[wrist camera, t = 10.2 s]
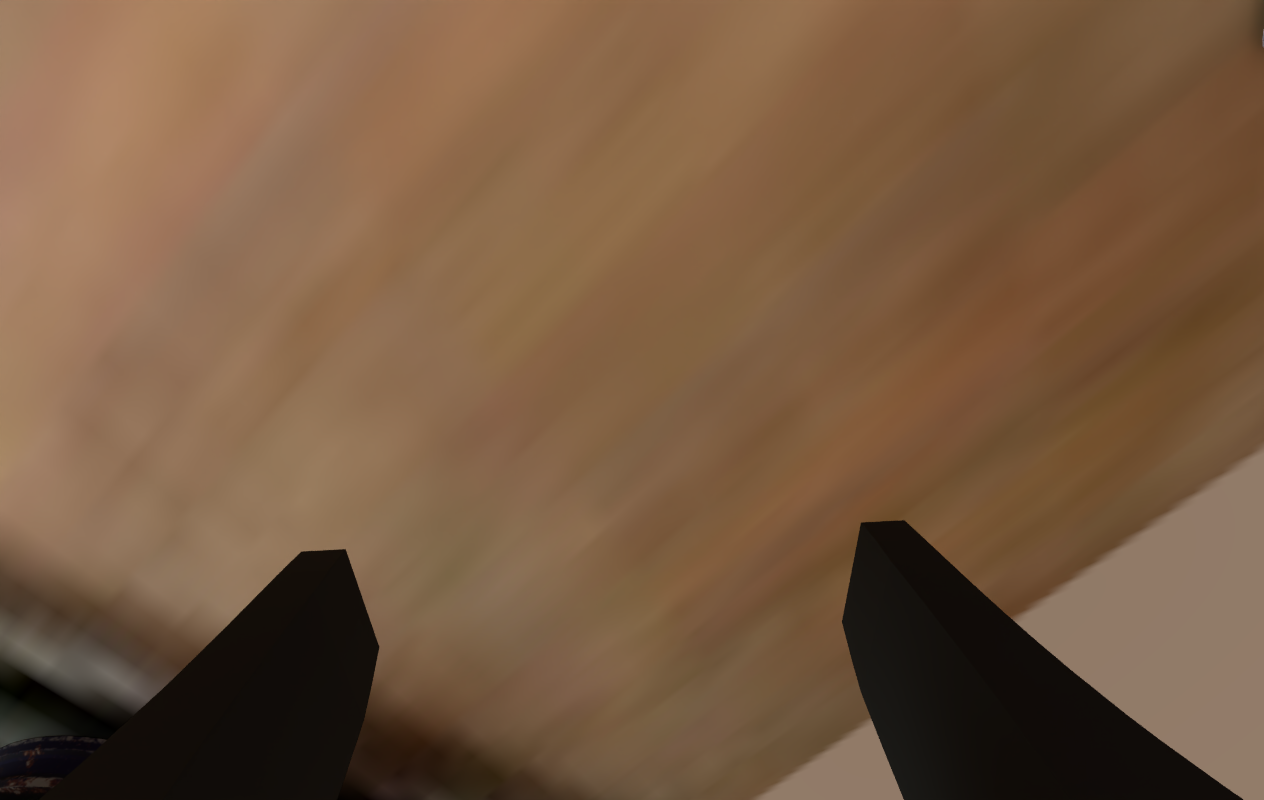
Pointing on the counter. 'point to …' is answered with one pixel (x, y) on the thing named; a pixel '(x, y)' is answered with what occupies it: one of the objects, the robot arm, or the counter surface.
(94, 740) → the storage jar
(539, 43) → the counter surface
